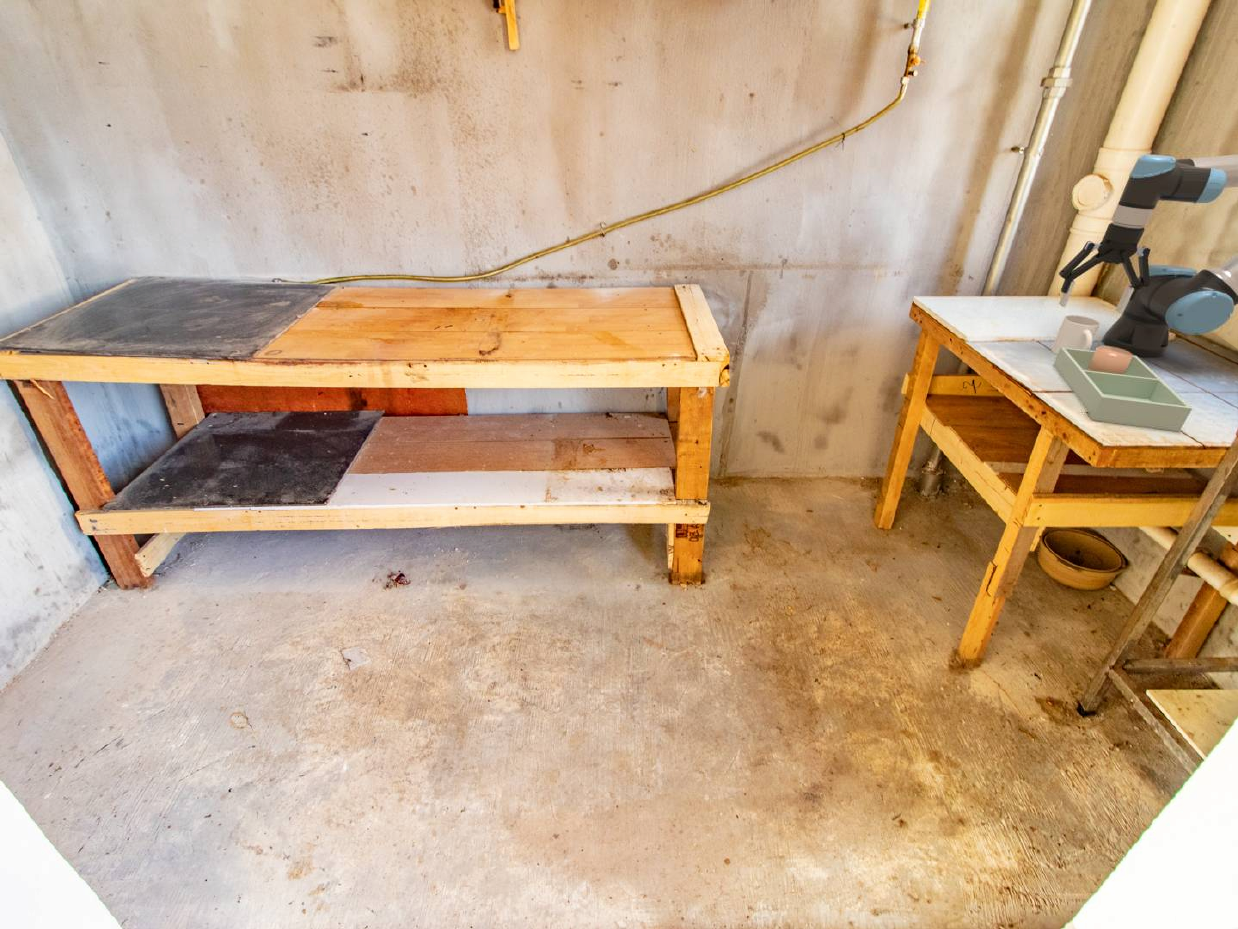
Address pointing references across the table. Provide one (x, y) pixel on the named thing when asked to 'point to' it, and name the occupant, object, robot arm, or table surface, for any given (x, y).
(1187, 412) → the caddy
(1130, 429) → the table surface
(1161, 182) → the robot arm
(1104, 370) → the peach rounded cylinder
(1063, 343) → the mug
